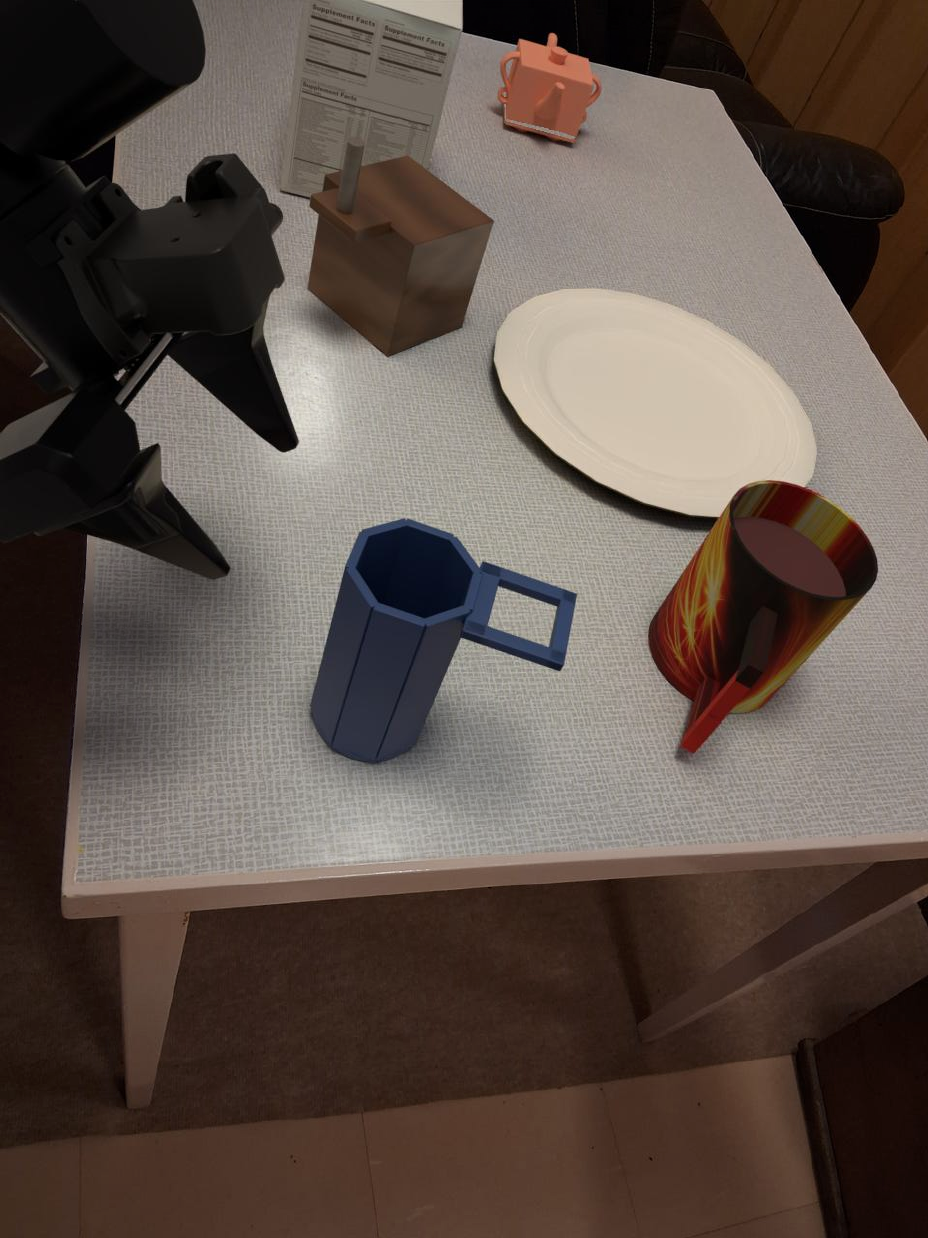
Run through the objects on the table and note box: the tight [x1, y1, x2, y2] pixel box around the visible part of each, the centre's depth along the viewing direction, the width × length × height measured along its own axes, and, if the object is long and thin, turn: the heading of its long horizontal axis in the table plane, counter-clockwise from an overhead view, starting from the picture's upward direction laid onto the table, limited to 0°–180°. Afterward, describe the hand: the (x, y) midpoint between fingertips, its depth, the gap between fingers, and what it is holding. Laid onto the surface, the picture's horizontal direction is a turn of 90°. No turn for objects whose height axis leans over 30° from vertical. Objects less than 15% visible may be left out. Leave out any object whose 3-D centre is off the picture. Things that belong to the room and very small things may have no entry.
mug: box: [647, 480, 879, 755], centre depth 60 cm, size 10×14×12 cm
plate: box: [492, 287, 818, 519], centre depth 82 cm, size 29×29×2 cm
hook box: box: [307, 137, 495, 357], centre depth 75 cm, size 13×10×16 cm
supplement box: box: [279, 0, 464, 199], centre depth 87 cm, size 13×13×18 cm
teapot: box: [496, 32, 602, 144], centre depth 109 cm, size 12×15×8 cm
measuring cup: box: [309, 518, 578, 763], centre depth 51 cm, size 11×6×13 cm, turn 77°
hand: (259, 507), depth 45 cm, fingers open, 9 cm apart
